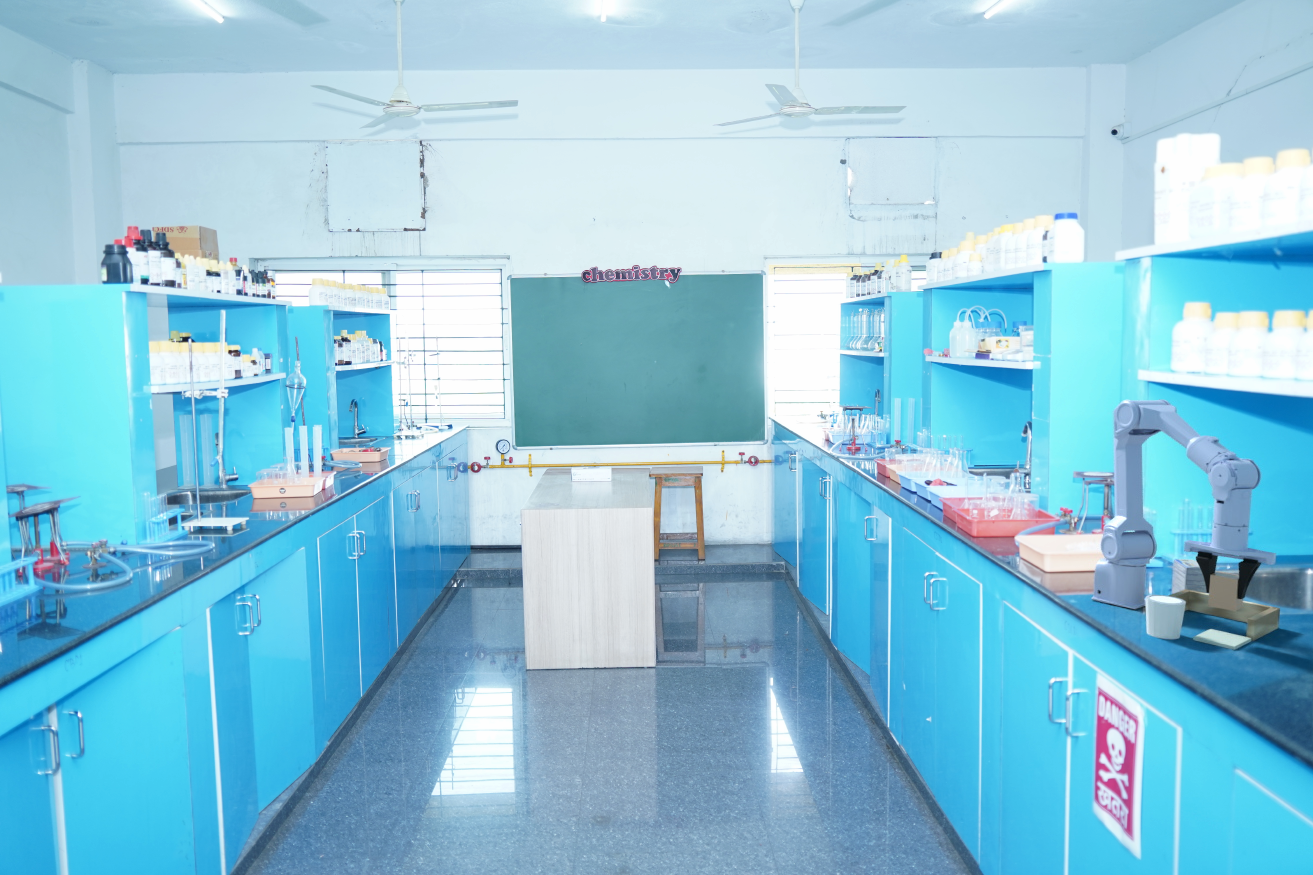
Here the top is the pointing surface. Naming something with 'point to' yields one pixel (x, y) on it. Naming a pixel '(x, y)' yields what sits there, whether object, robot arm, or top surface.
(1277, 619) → the birch pen
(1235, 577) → the terracotta block
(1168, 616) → the white cup
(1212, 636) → the rubber mat
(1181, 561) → the medicine box
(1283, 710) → the top surface
